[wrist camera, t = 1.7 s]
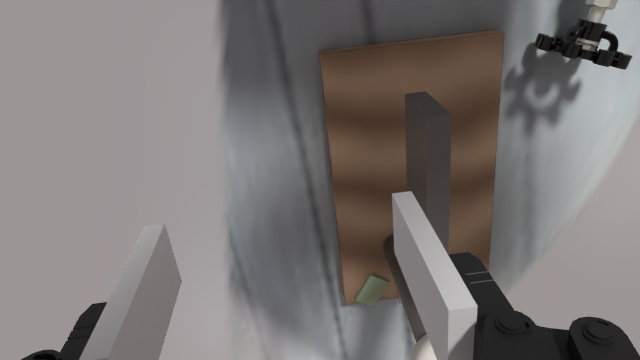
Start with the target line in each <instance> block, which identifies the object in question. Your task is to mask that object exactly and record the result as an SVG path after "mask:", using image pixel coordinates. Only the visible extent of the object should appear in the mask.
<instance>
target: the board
mask: <svg viewBox="0 0 640 360" xmlns="http://www.w3.org/2000/svg"><path fill="white" fill-rule="evenodd" d="M503 46H504V32H502V31H499V30H489V31H481V32H472V33H464V34H456V35H447V36H439V37H431V38H422V39H414V40H406V41H397V42H389V43H381V44H373V45H364V46H356V47H348V48H339V49H331V50H323V51H319V54H320V64H321V74H322V84H323V93H324V103H325V113H326V123H327V133H328V143H329V153H330V163H331V173H332V183H333V192H334V202H335V212H336V222H337V232H338V242H339V252H340V262H341V272H342V282H343V291H344V298H345V303H346V304H354V303H362V304H365V305H368V306H371V307H374V305H375V304H376V302H377V301H378V300H383V299H390V298H397V297H399V303H402V301H401V298H400V295H399V293H398V290H397V287H396V284H395V282H394V279H393V276H392V273H391V271H390V268H389V265H388V262H387V260H386V257H385V254H384V251H383V246H384V243H385V241H386V240H387V238H388V237H390V236H391V235H393V234H394V232H393V207H392V194H393V193H401V192H407V174H406V131H405V94H408V93H416V92H424V91H426V92H427V93H428V94H429V95H430V96H432V97H433V98H434V99H435V100H436V101H437V102H438V103H439V104H441V105H442V106H443V107H444V108H445V109H446V110H447V111H448V112H449V113H451V114H452V116H451V161H450V207H449V252H448V255H449V254H456V253H463V252H469V253H471V254H472V255H474V256H475V257H477V258H478V259H480V260H481V262H482V263H483V265H484V266H485V267H486V269H487V271H488V266H489V251H490V236H491V222H492V207H493V192H494V178H495V163H496V148H497V134H498V119H499V105H500V90H501V75H502V61H503Z"/></svg>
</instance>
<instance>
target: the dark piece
mask: <svg viewBox="0 0 640 360" xmlns="http://www.w3.org/2000/svg"><path fill="white" fill-rule="evenodd" d="M451 116H452V114H451V113H449V112H448V111H447V110H446V109H445V108H444V107H443V106H442V105H441V104H439V103H438V102H437V101H436V100H435V99H434V98H433V97H432V96H430V95H429V94H428V93H427V92H426V91H424V92H416V93H408V94H405V131H406V174H407V192H408V191H412V193H413V195H414V196H415V198H416V200H417V202H418V203H419V205H420V207H421V209H422V210H423V212H424V214H425V216H426V217H427V219H428V221H429V223H430V224H431V226H432V228H433V229H434V231H435V233H436V235H437V236H438V238H439V240H440V242H441V243H442V245H443V247H444V249H445V250H446V252H447V254H448V252H449V207H450V161H451ZM383 251H384V254H385V257H386V260H387V262H388V265H389V268H390V271H391V273H392V276H393V279H394V282H395V284H396V287H397V290H398V293H399V295H400V298H401V301H402V304H403V306H404V309H405V312H406V315H407V317H408V320H409V323H410V326H411V328H412V331H413V334H414V337H415V339H416V342H417V343H416V345H415V346H414V348H413V350H412V353H411V360H437V358H436V356H435V353H434V351H433V348H432V346H431V343H430V341H429V338H428V336H427V333H426V331H425V328H424V326H423V323H422V321H421V318H420V316H419V313H418V311H417V308H416V306H415V303H414V301H413V298H412V295H411V293H410V290H409V288H408V285H407V283H406V280H405V278H404V275H403V273H402V270H401V268H400V265H399V263H398V260H397V258H396V255H395V253H394V234H393V235H391V236H390V237H388V238H387V240H386V241H385V243H384V246H383Z"/></svg>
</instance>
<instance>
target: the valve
mask: <svg viewBox="0 0 640 360" xmlns="http://www.w3.org/2000/svg"><path fill="white" fill-rule="evenodd" d="M617 1H618V0H586V4H587V5H591V8H590V11H589V13H588V15H587V18H586V20H583V19H578V20H577V23H576V25H574V26H573V27H571V28H570V29H569V30H568V32H567V33H566V35H565V37H564V38H561V37H555V39H554V38H553V37H550V36H548V35H546V34H541V33H539V34H538V36H537V39H536V41H535V44H534V46H535V47H537V48H538V49H541V50H544V51H549V52H553V51H555V52H559V53H562V54H561V55H562V56H565V57H568V58H572V59H578V58H582V59H586V60H590V61H592V62H593V63H594V64H598V65H601V66H606V67H609V66H612V67H616V68H619V69H626V68H627V66H628V64H629V62H630V60H631V58H632V56H631V55H628V54H624V53H622V52H619V51H617V49H618V39H617V37H616V36H615V35H614V34H613V33H611V32H608V31H605V30H606V27H607V25H605V24H601V20H602V18H603V16H604V13H605V11H606V9H611V10H612V9H614V8H615V5H616V3H617ZM602 38H603V39H607V40H608V41H609V43H610V45H609V48H608V50H602V49H599V51H598V50H597V48H598V46H599V43H600V41H601V39H602ZM592 44H593V45H592ZM595 45H597V46H595Z"/></svg>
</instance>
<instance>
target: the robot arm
mask: <svg viewBox="0 0 640 360" xmlns="http://www.w3.org/2000/svg"><path fill="white" fill-rule="evenodd" d="M392 207H393V232H394V253H395V255H396V258H397V260H398V263H399V265H400V268H401V270H402V273H403V275H404V278H405V280H406V283H407V285H408V288H409V290H410V293H411V295H412V298H413V301H414V303H415V306H416V308H417V311H418V313H419V316H420V318H421V321H422V323H423V326H424V328H425V331H426V333H427V336H428V338H429V341H430V343H431V346H432V348H433V351H434V353H435V356H436V358H437V360H640V356H639V354H638V352H637V351H636V349H635V348H634V347H633V344H632V343H631V341H630V340H629V338H628V336H627V335H626V334H625V333H624V332H623V330H622V329H621V328H619V327H618V326H616V325H615V324H613V323H611V322H609V321H606V320H604V319H601V318H595V317H582V318H578V319H577V320H575V321H573V322H572V324H571V326H570V328H569V330H561V329H551V328H545V327H540V326H537V325H535V323H534V322H533V321H532V320H531V319H530V318H529V317H528V316H526V315H524V314H523V313H521V312H518V311H514V309H513V308H512V306H511V305H510V303H509V302H508V300H507V299H506V297H505V296H504V294H503V293H502V291H501V290H500V288H499V287H498V285H497V284H496V282H495V281H493V278H492V276H491V275H490V273H489V272H488V271H487V269H486V267H485V266H484V265H483V263H482V262H481V260H480V259H478V258H477V257H475V256H474V255H472V254H471V253H469V252H463V253H456V254H449V255H448V254H447V252H446V250H445V249H444V247H443V245H442V243H441V242H440V240H439V238H438V236H437V235H436V233H435V231H434V229H433V228H432V226H431V224H430V223H429V221H428V219H427V217H426V216H425V214H424V212H423V210H422V209H421V207H420V205H419V203H418V202H417V200H416V198H415V196H414V195H413V193H412V191H408V192H401V193H393V194H392ZM180 285H181V278H180V274H179V271H178V267H177V264H176V261H175V257H174V253H173V250H172V247H171V243H170V240H169V237H168V233H167V229H166V226H165V224H158V225H150V226H145V227H144V229H143V231H142V233H141V235H140V237H139V239H138V241H137V243H136V245H135V247H134V249H133V251H132V253H131V255H130V257H129V259H128V261H127V263H126V266H125V267H124V269H123V271H122V273H121V275H120V277H119V280H118V282H117V284H116V286H115V288H114V290H113V292H112V294H111V296H110V298H109V300H108V302H104V303H97V304H92V305H91V306H90V307H89V308H88V309H87V310H86V311H85V312H84V313H83V314H82V315H81V316H80V317H79V319H78V321H77V322H76V324H75V326H74V328H73V331H71V333H70V335H69V337H68V341H66V343H65V344H64V346H63V348H62V350H61V352H60V353H59V352H58V351H55V350H42V351H39V352H35V353H33V354H31V355H29V356H27V357H25V358H23V359H22V360H158V359H159V356H160V353H161V349H162V346H163V343H164V339H165V336H166V332H167V329H168V326H169V322H170V319H171V316H172V312H173V308H174V305H175V302H176V299H177V295H178V292H179V288H180Z"/></svg>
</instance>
